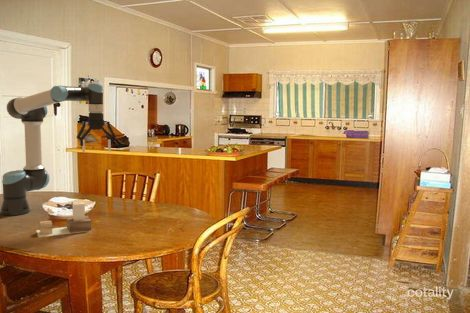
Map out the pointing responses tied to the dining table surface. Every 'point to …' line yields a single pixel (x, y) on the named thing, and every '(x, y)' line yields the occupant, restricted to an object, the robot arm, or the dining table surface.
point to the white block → (78, 211)
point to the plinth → (78, 225)
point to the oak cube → (46, 227)
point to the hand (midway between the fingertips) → (96, 151)
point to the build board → (57, 232)
